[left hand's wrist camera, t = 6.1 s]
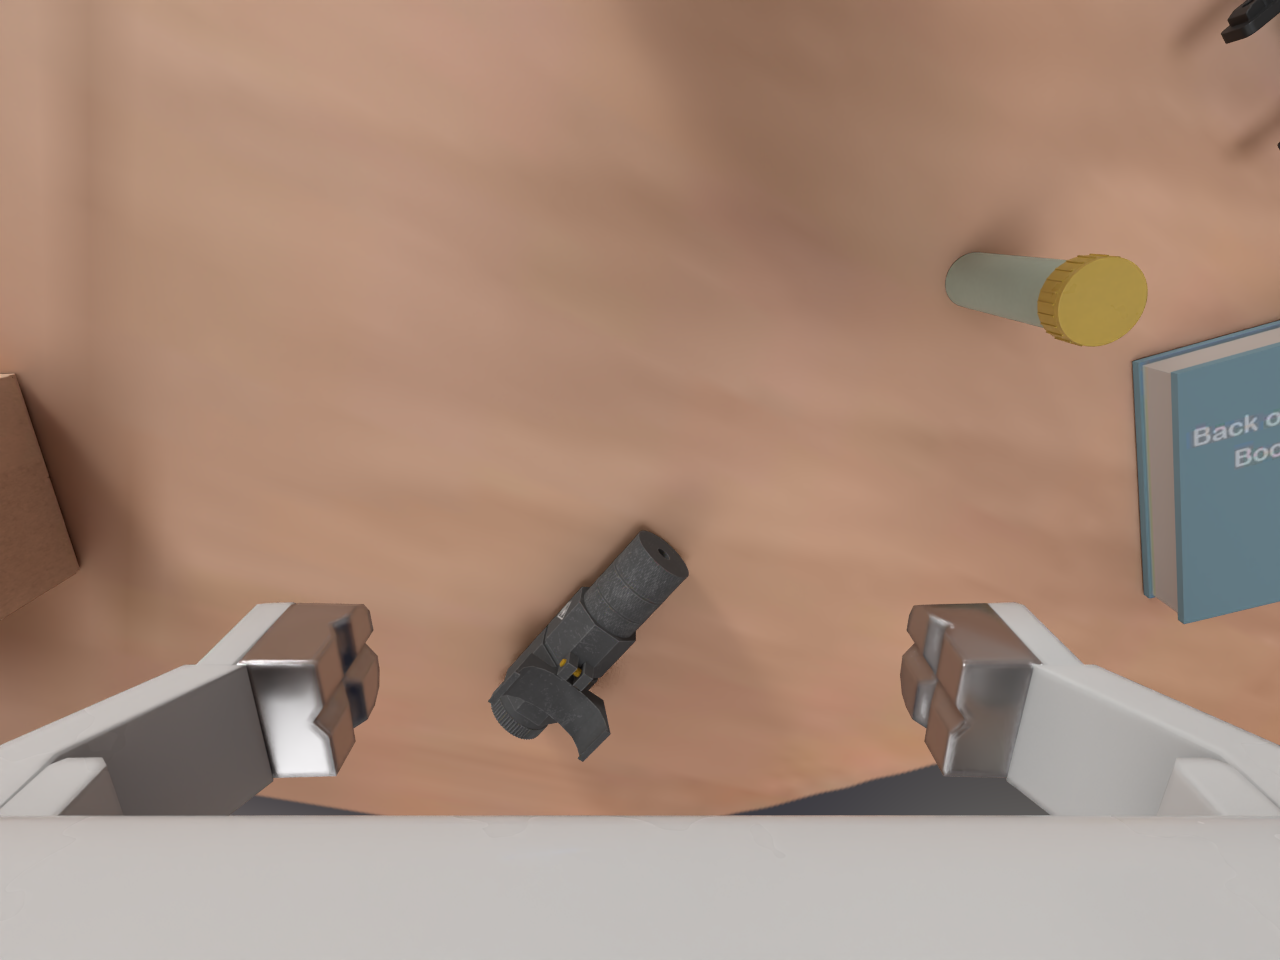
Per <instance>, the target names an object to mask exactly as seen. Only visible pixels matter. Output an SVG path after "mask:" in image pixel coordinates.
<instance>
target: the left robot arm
mask: <svg viewBox="0 0 1280 960" xmlns="http://www.w3.org/2000/svg"><path fill="white" fill-rule="evenodd" d="M372 632H373V626H372V621H371V616H370V611H369V610H368V609H367V607H366V606H365V605H364V604H326V603H294V602H288V603H263V604H257V605H256V606H255V607H254V608H253V609H252V610H251V611H250V612H249V613H248V614H247V615H246V616H245V617H244V618H243V619H242V620H241V621H240V622H239V623H238V624H237V625H236V626H235V627H234V628H233V629H232V630H231V631H230V632H229V633H228V634H227V635H226V636H225V637H224V638H223V639H222V640H221V641H219V642H218V643H217V644H216V645H215V646H214V647H213V648H212V649H211V650H210V651H209V652H208V653H207V654H206V655H205V656H204V657H203V658H202V659H201V660H200V661H199V662H198V663H197V664H196V665H183V666H181V667H178V668H176V669H174V670H172V671H169V672H167V673H165V674H162V675H160V676H158V677H156V678H153V679H151V680H149V681H146V682H144V683H142V684H140V685H137V686H135V687H133V688H130V689H128V690H126V691H123V692H121V693H119V694H117V695H114V696H112V697H110V698H107V699H105V700H103V701H101V702H98V703H96V704H94V705H91V706H89V707H87V708H85V709H82V710H80V711H78V712H75V713H73V714H71V715H68V716H66V717H64V718H62V719H59V720H57V721H55V722H52V723H50V724H48V725H46V726H43V727H41V728H39V729H36V730H34V731H32V732H29V733H27V734H25V735H23V736H20V737H18V738H16V739H13V740H11V741H9V742H7V743H4V744H2V745H0V960H1280V745H1277V744H1275V743H1273V742H1271V741H1268V740H1266V739H1264V738H1261V737H1259V736H1257V735H1255V734H1252V733H1250V732H1248V731H1245V730H1243V729H1241V728H1239V727H1236V726H1234V725H1232V724H1230V723H1227V722H1225V721H1223V720H1220V719H1218V718H1216V717H1214V716H1211V715H1209V714H1207V713H1204V712H1202V711H1200V710H1198V709H1195V708H1193V707H1191V706H1188V705H1186V704H1184V703H1182V702H1179V701H1177V700H1175V699H1172V698H1170V697H1168V696H1166V695H1163V694H1161V693H1159V692H1156V691H1154V690H1152V689H1150V688H1147V687H1145V686H1143V685H1140V684H1138V683H1136V682H1134V681H1131V680H1129V679H1127V678H1124V677H1122V676H1120V675H1118V674H1115V673H1113V672H1111V671H1108V670H1106V669H1104V668H1102V667H1099V666H1097V665H1084V664H1083V663H1082V662H1081V661H1080V660H1079V659H1078V658H1077V657H1076V656H1075V655H1074V654H1073V653H1072V652H1071V651H1070V650H1069V649H1068V648H1067V647H1066V646H1065V645H1064V644H1063V643H1062V642H1061V641H1060V640H1059V639H1058V638H1057V637H1056V636H1055V635H1054V634H1053V633H1052V632H1051V631H1049V630H1048V629H1047V628H1046V627H1045V626H1044V625H1043V624H1042V623H1041V622H1040V621H1039V620H1038V619H1037V618H1036V617H1035V616H1034V615H1033V614H1032V613H1031V612H1030V611H1029V610H1028V609H1027V608H1026V607H1025V606H1024V605H1022V604H1019V603H1016V602H1007V603H976V604H936V605H915V606H913V608H912V610H911V613H910V615H909V619H908V625H907V632H908V633H909V635H910V636H911V638H912V639H913V641H914V642H915V643H914V644H913V645H912V646H911V647H910V649H909V650H908V651H907V652H906V653H905V654H904V655H903V656H902V664H901V673H900V678H901V689H902V696H903V699H904V702H905V705H906V708H907V710H908V712H909V714H910V716H911V717H912V719H913V720H914V721H916V722H917V723H919V724H920V725H922V726H924V727H925V728H927V729H926V735H925V743H926V745H927V747H928V749H929V750H930V752H931V754H932V756H933V757H934V759H935V761H936V763H937V765H938V766H939V768H940V770H941V772H942V774H943V775H944V776H960V777H996V778H1007V781H1008V782H1009V783H1010V784H1011V785H1013V786H1014V787H1015V788H1017V789H1018V790H1019V791H1020V792H1022V793H1023V794H1024V795H1026V796H1027V797H1028V798H1030V799H1031V800H1032V801H1033V802H1035V803H1036V804H1037V805H1038V806H1040V807H1041V808H1042V809H1044V810H1045V811H1046V812H1047V813H1049V814H1050V815H1051V816H229V815H230V814H231V813H233V812H234V811H235V810H237V809H238V808H239V807H240V806H242V805H243V804H244V803H246V802H247V801H248V800H249V799H251V798H252V797H253V796H255V795H256V794H257V793H259V792H260V791H261V790H262V789H264V788H265V787H266V786H268V785H269V784H270V783H271V782H273V778H283V777H319V776H337V774H338V772H339V770H340V768H341V767H342V765H343V763H344V761H345V759H346V758H347V756H348V754H349V752H350V750H351V749H352V747H353V745H354V743H355V735H354V729H353V728H355V727H356V726H358V725H360V724H361V723H363V722H364V721H366V720H367V719H368V717H369V716H370V714H371V712H372V710H373V708H374V706H375V702H376V698H377V694H378V689H379V671H380V670H379V663H378V656H377V655H376V654H375V653H374V652H373V651H372V650H371V649H370V647H369V646H368V645H367V644H366V643H365V642H366V641H367V639H368V638H369V636H370V635H371V633H372Z"/></svg>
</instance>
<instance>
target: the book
mask: <svg viewBox="0 0 1280 960" xmlns="http://www.w3.org/2000/svg"><path fill="white" fill-rule="evenodd" d="M1133 381H1134V401H1135V421H1136V442H1137V462H1138V482H1139V502H1140V522H1141V543H1142V563H1143V583H1144V595H1145V596H1147V597H1148V598H1154V597H1157V598H1158V599H1159V600H1161V601H1162V602H1163V603H1165V604H1166V605H1168V606H1169V607H1170V608H1172V609H1173V610H1174V611H1176V612H1177V613H1178V620H1179V621H1180V622H1182V623H1183V624H1187V623H1191V622H1195V621H1199V620H1204V619H1208V618H1212V617H1216V616H1220V615H1224V614H1229V613H1233V612H1237V611H1241V610H1245V609H1250V608H1254V607H1258V606H1262V605H1266V604H1270V603H1275V602H1279V601H1280V320H1279V321H1276V322H1272V323H1269V324H1265V325H1261V326H1258V327H1254V328H1251V329H1247V330H1243V331H1240V332H1236V333H1233V334H1229V335H1225V336H1222V337H1218V338H1215V339H1211V340H1207V341H1204V342H1200V343H1197V344H1193V345H1190V346H1186V347H1182V348H1179V349H1175V350H1172V351H1168V352H1164V353H1161V354H1157V355H1154V356H1150V357H1146V358H1143V359H1139V360H1136V361H1133Z"/></svg>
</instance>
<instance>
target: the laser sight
mask: <svg viewBox="0 0 1280 960" xmlns="http://www.w3.org/2000/svg"><path fill="white" fill-rule="evenodd" d="M688 575H689V572H688V569H687V566H686V564H685V563H684V561H683V560H682V558H681V557H680V556H679V555H678V553H677V552H676V551H675V550H674V549H673V548H672V547H671V546H670V545H669V544H667V543H666V542H665V541H664V540H662V539H661V538H660V537H658V536H656V535H655V534H653V533H651V532H648V531H640V532H639V533H638V535H637V536H636V537H635V538H634V539H633V540H632V542H631V543H630V544H629V545H628V546H627V547H626V548H625V549H624V550H623V552H622V553H621V554H620V555H619V556H618V557H617V558H616V559H615V560H614V561H613V563H612V564H611V565H610V566H609V567H608V568H607V569H606V570H605V572H604V573H603V574H602V575H601V576H600V577H599V578H598V579H597V580H596V581H595V583H594V584H593V585H592V586H591V587H581V589H580V590H579V591H578V592H577V593H576V594H575V595H574V596H573V597H572V599H571V600H570V601H569V602H568V603H567V604H566V605H565V606H564V608H563V609H562V610H561V611H560V612H559V613H558V614H557V615H556V616H555V618H554V619H553V620H552V621H551V622H550V623H549V624H548V625H547V626H546V628H545V629H544V630H543V631H542V632H541V633H540V634H539V635H538V637H537V638H536V639H535V640H534V641H533V642H532V643H531V644H530V645H529V647H528V648H527V649H526V650H525V651H524V652H523V653H522V654H521V655H520V657H519V658H518V659H517V660H516V661H515V662H514V663H513V664H512V666H511V667H510V668H509V669H508V670H507V673H506V677H505V680H504V682H502V684H501V685H500V686H499V687H498V688H497V689H496V690H495V691H494V692H493V694H492V697H491V698H490V699H489V701H488V702H489V703H491V707H492V708H491V709H492V712H493V714H494V715H495V718H496V720H497V721H498V723H500V725H501V726H502V727H503V728H504V729H505V730H507V732H509V733H510V734H512V735H513V736H516V737H518V738H521V739H532V738H536V737H537V736H538V735H539V734H540V733H541V732H542V731H543V730H544V729H545V728H546V727H547V725H548V724H552V723H557V722H558V723H559V724H560V725H561V726H562V727H563V728H564V729H565V730H566V731H567V732H568V733H569V734H570V735H571V736H572V738H573V740H574V742H575V744H576V746H577V748H578V752H579V757H578V759H579V760H581V761H582V762H583V761H584V760H585V759H586V758H587V757H588V756H589V755H590V754H591V753H592V752H593V751H594V750H595V749H596V748H597V747H598V746H599V745H600V744H601V743H602V742H603V741H604V740H605V739H606V738H607V737H608V736H609V735H610V730H609V725H608V720H607V715H606V711H605V706H604V701H603V700H602V699H601V698H599V697H598V696H596V695H595V694H593V693H592V692H590V691H589V689H590V688H591V687H592V686H593V685H594V684H595V683H596V682H597V681H598V678H600V677H601V676H602V675H603V674H604V673H605V672H606V671H607V670H608V669H609V668H610V667H611V666H612V665H613V664H614V663H615V662H616V661H617V660H618V659H619V658H620V657H621V656H622V655H623V654H624V652H625V651H626V650H627V649H628V648H629V647H630V646H631V645H632V644H633V643H634V642H635V641H636V630H637V629H638V628H639V627H640V626H641V625H642V624H643V623H644V622H645V621H646V620H647V619H648V617H649V616H650V615H651V614H652V613H653V612H654V611H655V610H656V609H657V608H658V607H659V606H660V605H661V604H662V603H663V602H664V601H665V600H666V599H667V597H668V596H669V595H670V594H671V593H672V592H673V591H674V590H675V589H676V588H677V587H678V586H679V585H680V584H681V583H682V582H683V581H684V580H685V579H686V578H687V577H688Z"/></svg>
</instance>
